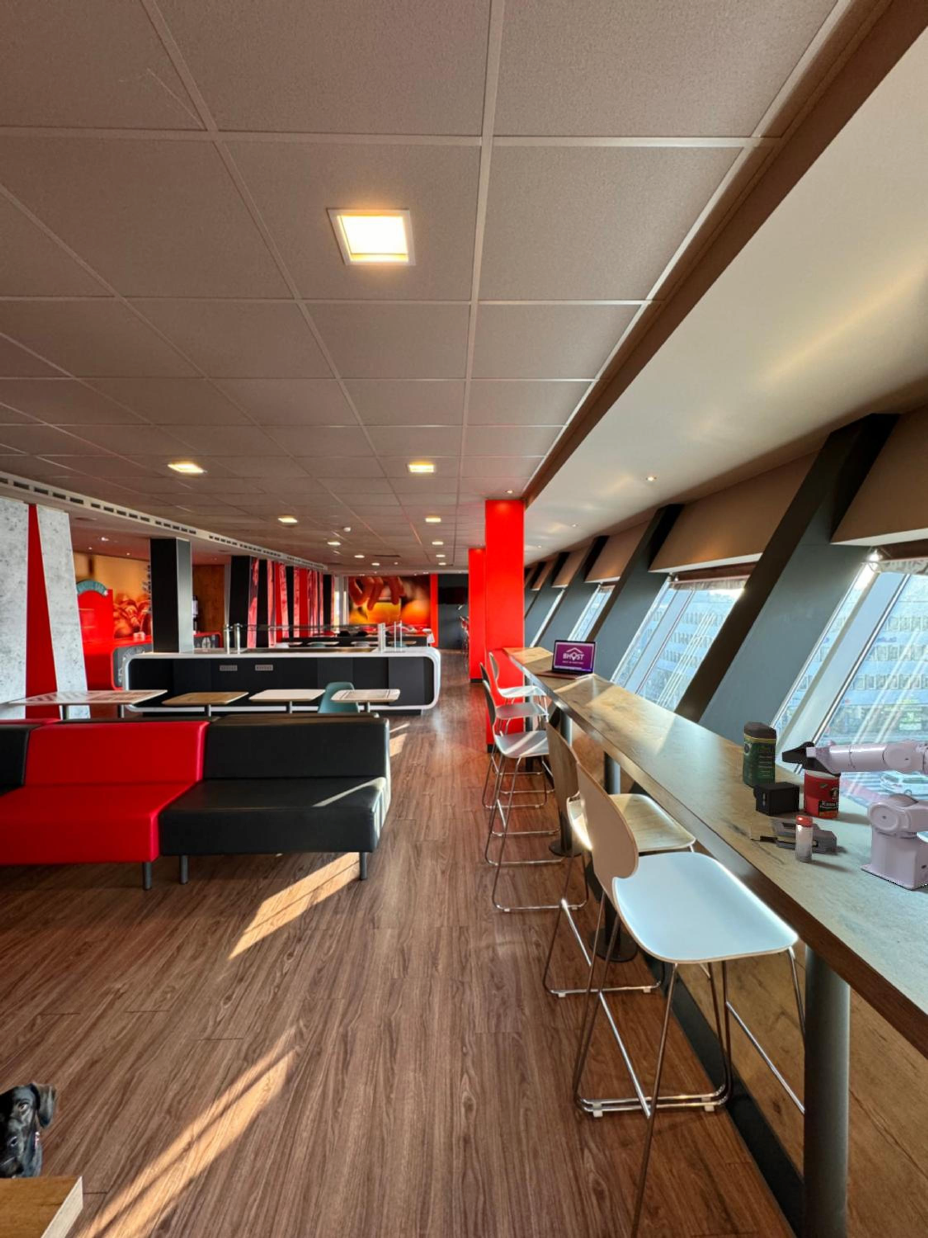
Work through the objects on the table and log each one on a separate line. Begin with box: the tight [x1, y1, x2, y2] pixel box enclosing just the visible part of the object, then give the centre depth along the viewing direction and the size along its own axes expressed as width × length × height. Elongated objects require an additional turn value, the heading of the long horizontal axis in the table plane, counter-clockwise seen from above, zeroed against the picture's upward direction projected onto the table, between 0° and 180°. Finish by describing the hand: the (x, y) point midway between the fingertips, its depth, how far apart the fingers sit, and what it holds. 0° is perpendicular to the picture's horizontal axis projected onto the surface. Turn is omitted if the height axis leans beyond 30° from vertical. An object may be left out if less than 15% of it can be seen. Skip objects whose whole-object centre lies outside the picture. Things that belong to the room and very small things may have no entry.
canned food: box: [802, 769, 841, 820], centre depth 146 cm, size 8×8×11 cm
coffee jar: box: [741, 721, 778, 788], centre depth 169 cm, size 10×8×19 cm
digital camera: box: [752, 781, 801, 817], centre depth 148 cm, size 10×5×7 cm, turn 109°
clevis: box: [747, 817, 838, 854], centre depth 128 cm, size 17×8×4 cm, turn 71°
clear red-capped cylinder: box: [794, 814, 814, 864], centre depth 119 cm, size 3×3×9 cm
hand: (792, 760), depth 130 cm, fingers open, 7 cm apart
